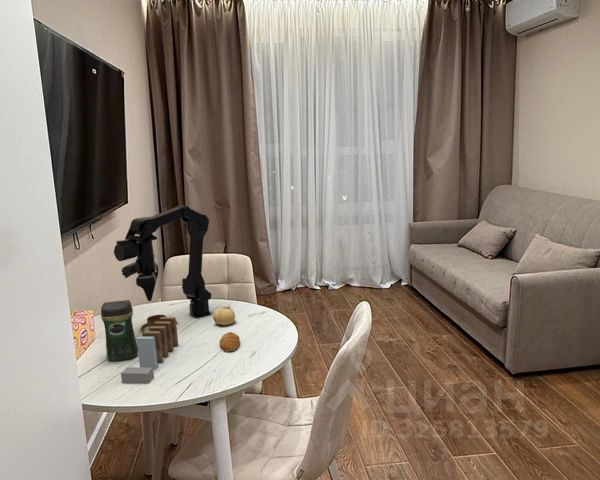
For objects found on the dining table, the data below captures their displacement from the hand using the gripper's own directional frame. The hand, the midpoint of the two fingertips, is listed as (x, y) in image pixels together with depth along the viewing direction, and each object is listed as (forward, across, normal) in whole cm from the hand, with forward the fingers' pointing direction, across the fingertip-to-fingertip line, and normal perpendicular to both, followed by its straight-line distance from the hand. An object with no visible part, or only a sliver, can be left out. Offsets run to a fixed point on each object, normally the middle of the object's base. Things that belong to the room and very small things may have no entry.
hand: (150, 296), depth 190 cm
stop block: (+13, +38, -2) cm, 40 cm away
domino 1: (+13, +31, 0) cm, 34 cm away
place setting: (+14, -7, -2) cm, 16 cm away
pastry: (+14, +21, +26) cm, 36 cm away
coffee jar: (+13, +19, -9) cm, 25 cm away
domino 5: (+13, +19, +5) cm, 24 cm away
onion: (+14, -1, +25) cm, 29 cm away
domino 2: (+13, +27, +2) cm, 30 cm away
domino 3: (+13, +23, +3) cm, 27 cm away
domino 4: (+13, +15, +6) cm, 21 cm away
